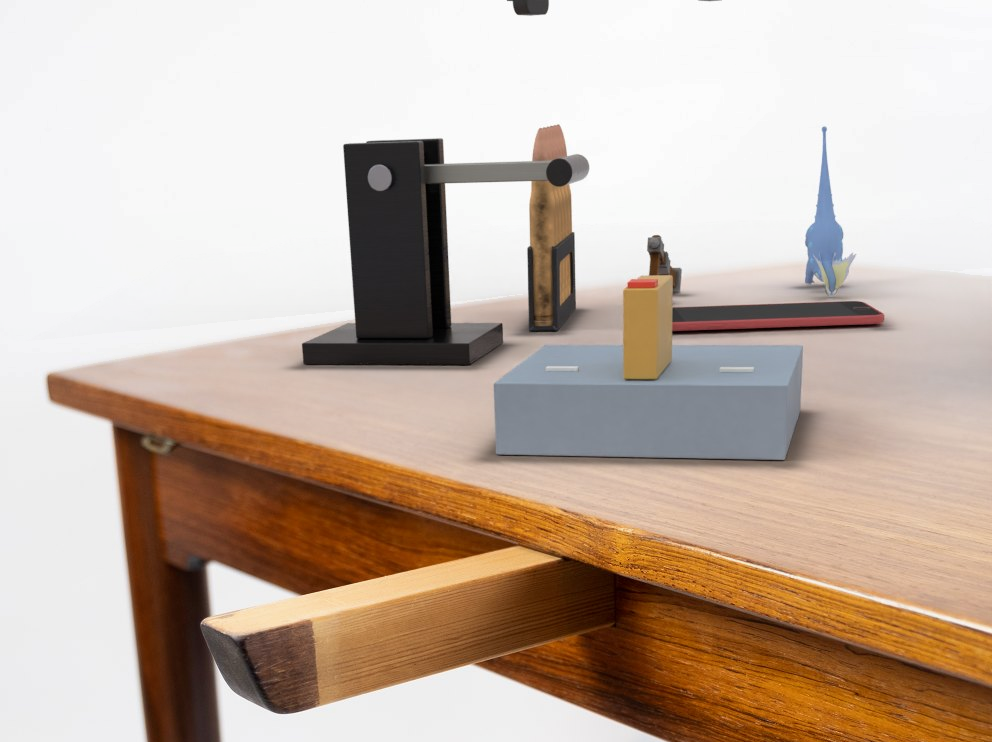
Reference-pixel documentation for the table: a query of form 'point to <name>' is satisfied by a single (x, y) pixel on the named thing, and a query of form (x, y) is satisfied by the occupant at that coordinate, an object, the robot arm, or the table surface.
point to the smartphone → (774, 315)
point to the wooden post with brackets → (662, 262)
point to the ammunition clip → (550, 242)
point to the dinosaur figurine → (826, 238)
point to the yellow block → (647, 326)
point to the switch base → (651, 403)
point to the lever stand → (399, 265)
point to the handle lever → (510, 171)
